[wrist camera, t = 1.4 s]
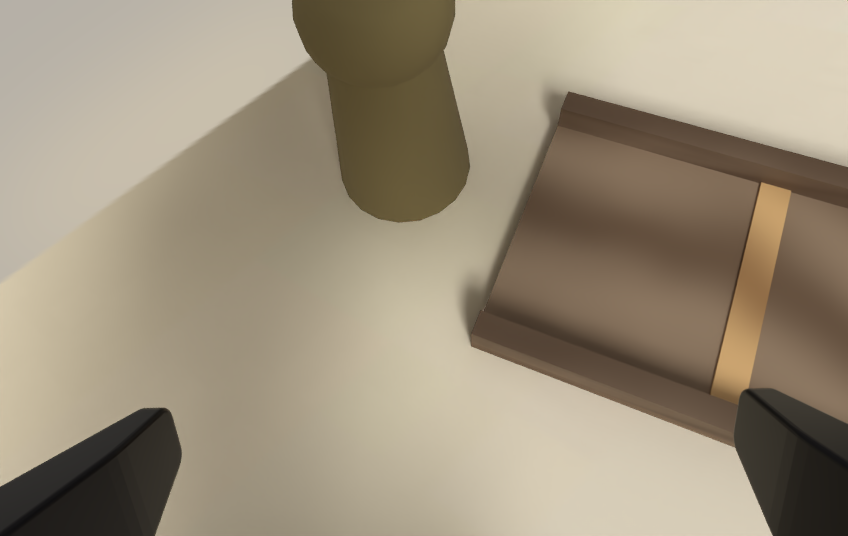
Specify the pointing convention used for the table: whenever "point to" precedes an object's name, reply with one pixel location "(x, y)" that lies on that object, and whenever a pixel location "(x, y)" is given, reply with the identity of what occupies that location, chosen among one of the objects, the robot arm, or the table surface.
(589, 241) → the channel board
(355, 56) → the olive pawn shaped piece
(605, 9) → the table surface
